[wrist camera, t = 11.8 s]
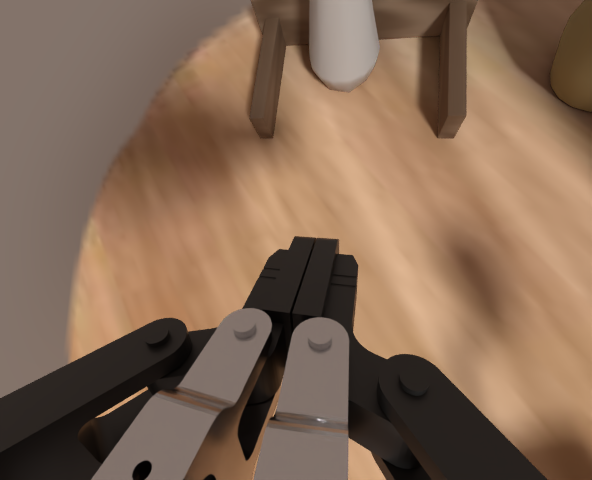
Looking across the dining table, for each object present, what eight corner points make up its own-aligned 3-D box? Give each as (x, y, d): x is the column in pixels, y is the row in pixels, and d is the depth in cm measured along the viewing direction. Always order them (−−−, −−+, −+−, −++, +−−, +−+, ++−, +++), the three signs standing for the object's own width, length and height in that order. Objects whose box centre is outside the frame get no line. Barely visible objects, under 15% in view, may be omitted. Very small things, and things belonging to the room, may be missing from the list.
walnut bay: (464, 22, 27) (494, -57, 21) (464, 138, 24) (497, 85, 19) (268, 36, 31) (247, -27, 25) (252, 138, 28) (225, 94, 22)
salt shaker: (310, 55, 29) (271, -135, 17) (371, 38, 28) (378, -177, 16) (318, 107, 28) (283, -59, 15) (383, 91, 27) (402, -100, 14)
